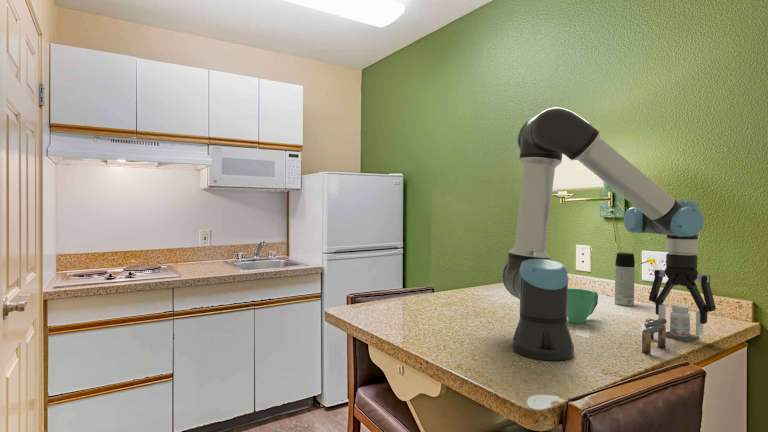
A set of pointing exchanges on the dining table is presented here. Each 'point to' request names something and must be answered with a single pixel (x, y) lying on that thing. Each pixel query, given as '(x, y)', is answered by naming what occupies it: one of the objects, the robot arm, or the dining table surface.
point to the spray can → (624, 279)
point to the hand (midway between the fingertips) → (680, 330)
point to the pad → (682, 337)
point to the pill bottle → (680, 321)
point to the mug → (580, 304)
